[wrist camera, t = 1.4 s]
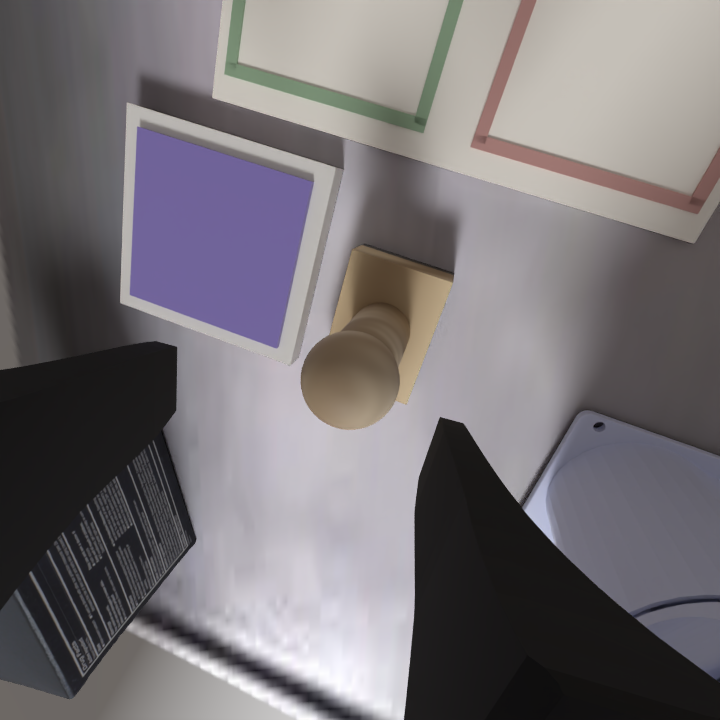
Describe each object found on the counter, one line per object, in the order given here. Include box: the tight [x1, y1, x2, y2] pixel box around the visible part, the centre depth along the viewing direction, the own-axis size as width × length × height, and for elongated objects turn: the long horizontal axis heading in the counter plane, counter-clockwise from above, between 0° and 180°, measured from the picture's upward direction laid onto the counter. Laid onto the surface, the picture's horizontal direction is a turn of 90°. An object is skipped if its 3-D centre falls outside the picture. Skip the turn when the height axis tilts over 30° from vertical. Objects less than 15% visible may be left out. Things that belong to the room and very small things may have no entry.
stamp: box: [301, 244, 454, 430], centre depth 16 cm, size 4×6×9 cm
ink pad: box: [120, 103, 344, 365], centre depth 20 cm, size 10×10×2 cm
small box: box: [0, 431, 196, 699], centre depth 24 cm, size 11×6×10 cm, turn 7°
